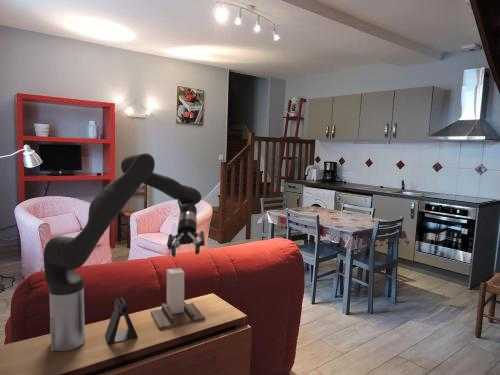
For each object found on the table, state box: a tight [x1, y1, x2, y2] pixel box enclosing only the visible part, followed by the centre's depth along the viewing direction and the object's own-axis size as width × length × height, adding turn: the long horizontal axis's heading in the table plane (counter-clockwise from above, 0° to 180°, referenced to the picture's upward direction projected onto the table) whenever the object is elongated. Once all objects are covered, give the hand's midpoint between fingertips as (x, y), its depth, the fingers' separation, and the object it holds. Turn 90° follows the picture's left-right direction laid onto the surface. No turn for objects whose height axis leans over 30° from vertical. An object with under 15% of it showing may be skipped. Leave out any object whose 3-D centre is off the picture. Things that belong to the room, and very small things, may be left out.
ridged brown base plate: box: [150, 301, 206, 331], centre depth 127 cm, size 16×13×3 cm
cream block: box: [166, 267, 185, 314], centre depth 129 cm, size 5×5×15 cm
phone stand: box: [104, 296, 138, 346], centre depth 113 cm, size 9×6×12 cm, turn 120°
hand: (185, 254), depth 133 cm, fingers open, 8 cm apart
